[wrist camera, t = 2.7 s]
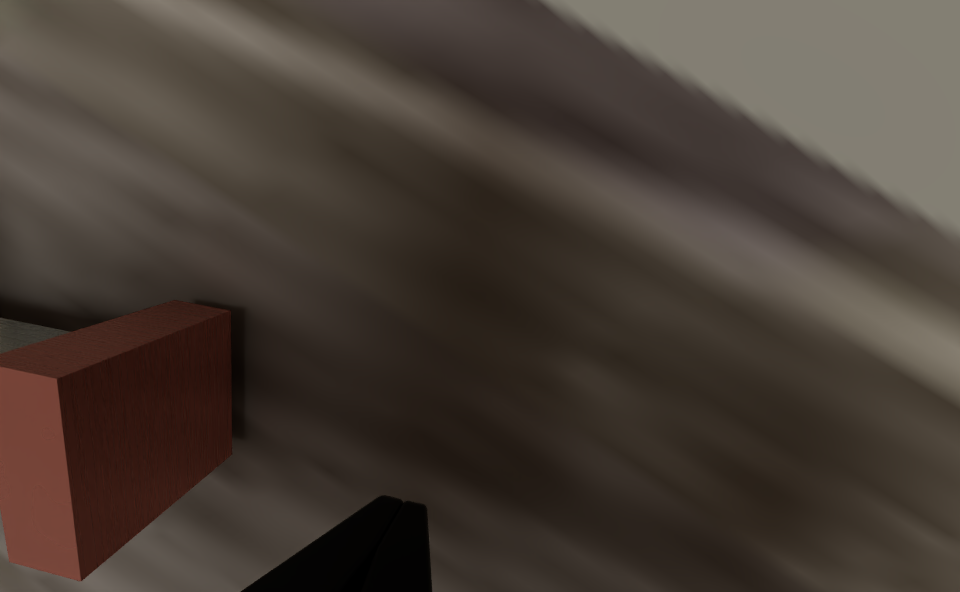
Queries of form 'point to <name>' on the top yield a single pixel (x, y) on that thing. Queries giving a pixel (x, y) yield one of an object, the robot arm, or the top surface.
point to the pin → (107, 428)
